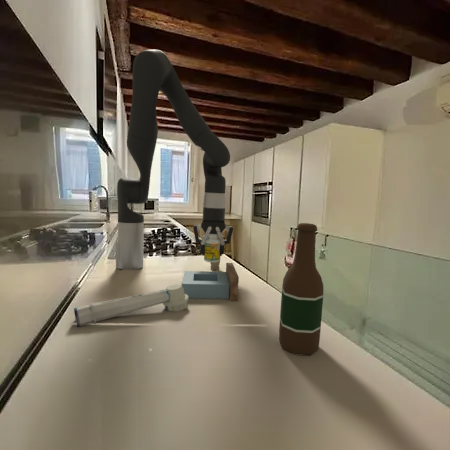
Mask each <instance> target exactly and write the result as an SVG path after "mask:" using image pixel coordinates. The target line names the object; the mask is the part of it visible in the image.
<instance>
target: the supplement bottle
mask: <svg viewBox="0 0 450 450" xmlns="http://www.w3.org/2000/svg"><path fill="white" fill-rule="evenodd" d="M204 244H205V252H204V255H203V261H204V262H206V263H210V262H218V261H219V259H220V260H221V256H220V240H218V234H209V235H208V237H207V239H206V241H205V243H204Z"/></svg>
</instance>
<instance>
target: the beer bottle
mask: <svg viewBox="0 0 450 450" xmlns="http://www.w3.org/2000/svg"><path fill="white" fill-rule="evenodd" d="M296 230H297V234H296V235H297V236H296V242H295V243H296V244H295V251H294V258H293V261H292V265H291V266H290V267H289V268H288V269H287V271H286V272H285V274H284V277H283V280H282V284H281V285H282V286H281V296H280V297H281V299H280V312H279V313H280V314H279V316H280V317H279V328H278V332H279V333H278V340H279V343H280V346H281V349H283V350H285V351H287V352H289V353H290V352H291V354H292V353H293V354H292V355H294V354H300V355H299V356H311V355H313V354H314V353H316V352H317V351H318V350H319V349H320V348H319V347H320V341H321V327H322V316H323V305H324V304H323V303H324V283H323V279H322V276H321V274H320V272H319V271H318V269H317V266H316V232H317V231H318V226H317V225H316V224H314V223H307V222H306V223H304V222H301V223H297V226H296ZM312 353H313V354H312ZM301 354H302V355H301Z"/></svg>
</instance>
